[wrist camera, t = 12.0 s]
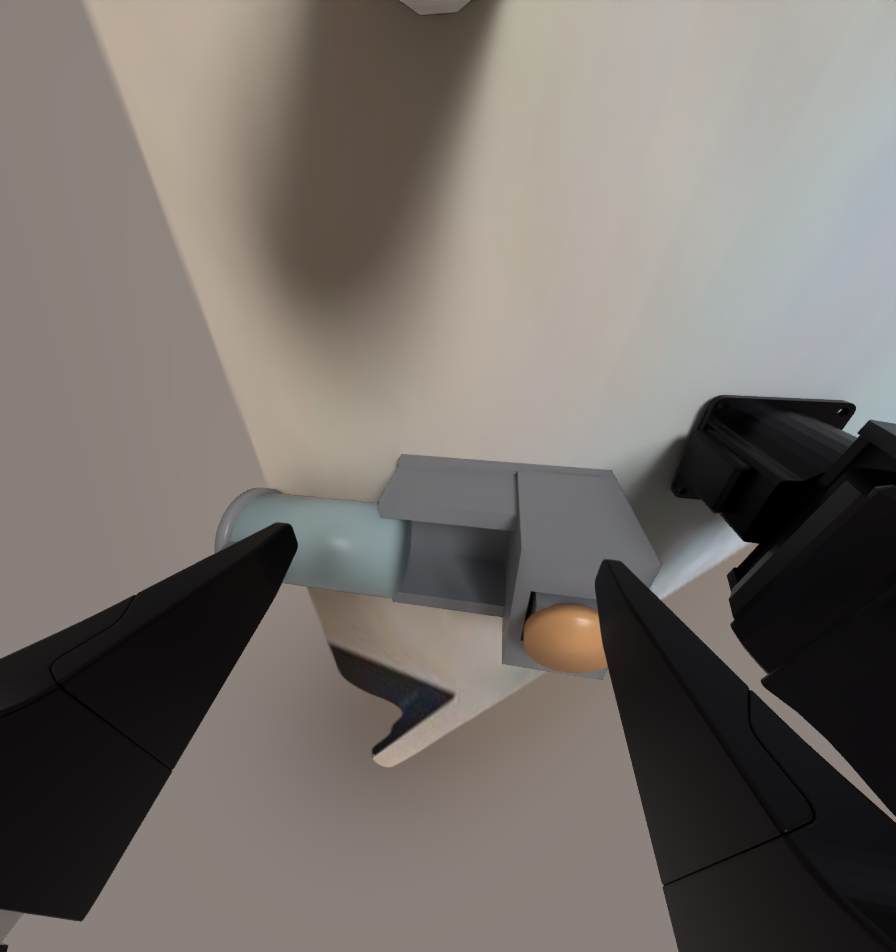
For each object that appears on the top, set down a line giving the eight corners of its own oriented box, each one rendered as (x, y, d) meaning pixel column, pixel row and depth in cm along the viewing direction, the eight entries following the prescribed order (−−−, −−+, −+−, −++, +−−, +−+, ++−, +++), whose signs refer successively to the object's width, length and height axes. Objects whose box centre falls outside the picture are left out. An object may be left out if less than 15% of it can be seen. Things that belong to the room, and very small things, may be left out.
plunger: (611, 560, 18) (635, 627, 14) (591, 611, 20) (607, 679, 17) (526, 551, 18) (530, 613, 15) (517, 602, 21) (518, 665, 17)
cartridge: (409, 483, 22) (351, 607, 14) (414, 550, 26) (370, 681, 18) (269, 470, 24) (140, 576, 15) (292, 536, 27) (197, 651, 19)
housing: (611, 470, 21) (661, 565, 14) (577, 575, 26) (602, 680, 19) (401, 454, 22) (356, 530, 16) (410, 555, 28) (379, 644, 21)
